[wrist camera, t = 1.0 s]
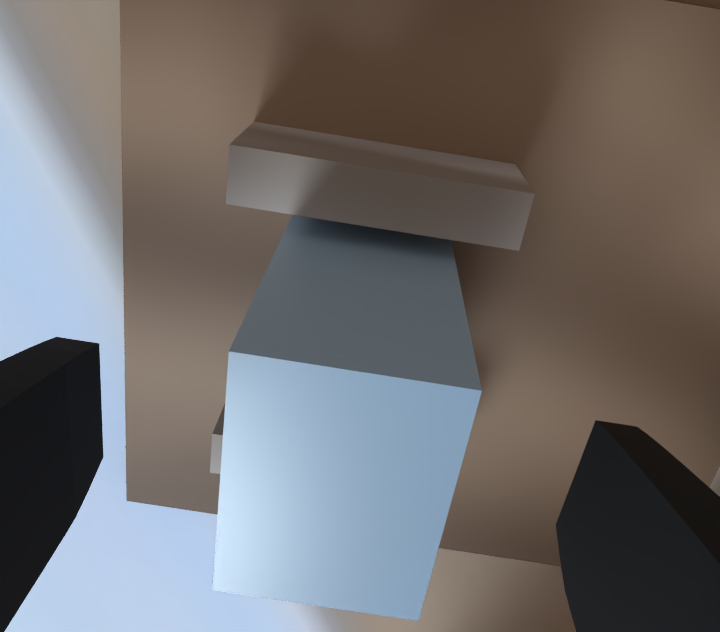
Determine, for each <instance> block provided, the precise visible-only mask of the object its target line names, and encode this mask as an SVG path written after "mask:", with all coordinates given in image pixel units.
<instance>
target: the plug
mask: <svg viewBox="0 0 720 632" xmlns="http://www.w3.org/2000/svg"><path fill="white" fill-rule="evenodd" d="M481 393H482V388H481V383H480V379H479V374H478V369H477V364H476V359H475V354H474V349H473V344H472V340H471V335H470V330H469V325H468V320H467V315H466V310H465V306H464V301H463V296H462V291H461V286H460V281H459V276H458V272H457V267H456V262H455V257H454V252H453V247H452V242H451V240H448V239H442V238H436V237H429V236H423V235H417V234H411V233H404V232H398V231H392V230H385V229H379V228H373V227H367V226H360V225H354V224H348V223H342V222H335V221H329V220H323V219H317V218H310V217H304V216H298V215H292V217H291V219H290V221H289V223H288V225H287V227H286V229H285V232H284V234H283V236H282V238H281V240H280V242H279V244H278V247H277V249H276V251H275V253H274V255H273V257H272V260H271V262H270V264H269V266H268V268H267V270H266V272H265V275H264V277H263V279H262V281H261V283H260V285H259V287H258V290H257V292H256V294H255V296H254V298H253V300H252V302H251V305H250V307H249V309H248V311H247V313H246V315H245V317H244V320H243V322H242V324H241V326H240V328H239V330H238V333H237V335H236V337H235V339H234V341H233V343H232V345H231V348H230V350H229V355H228V369H227V384H226V399H225V413H224V428H223V443H222V457H221V472H220V487H219V501H218V516H217V530H216V545H215V560H214V574H213V589H212V590H214V591H221V592H228V593H234V594H241V595H248V596H254V597H261V598H268V599H275V600H281V601H288V602H295V603H302V604H308V605H315V606H322V607H329V608H335V609H342V610H349V611H356V612H362V613H369V614H376V615H383V616H389V617H396V618H403V619H409V620H416V621H418V620H419V617H420V613H421V609H422V606H423V602H424V599H425V595H426V591H427V588H428V584H429V581H430V577H431V573H432V570H433V566H434V562H435V559H436V555H437V552H438V548H439V544H440V541H441V537H442V534H443V530H444V526H445V523H446V519H447V515H448V512H449V508H450V505H451V501H452V497H453V494H454V490H455V487H456V483H457V479H458V476H459V472H460V468H461V465H462V461H463V458H464V454H465V450H466V447H467V443H468V440H469V436H470V432H471V429H472V425H473V421H474V418H475V414H476V411H477V407H478V403H479V400H480V396H481Z"/></svg>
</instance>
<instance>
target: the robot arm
mask: <svg viewBox="0 0 720 632" xmlns="http://www.w3.org/2000/svg"><path fill="white" fill-rule="evenodd" d="M102 458H103V438H102V411H101V383H100V356H99V344H98V343H92V342H85V341H79V340H72V339H66V338H60V337H55V338H53V339H50V340H47V341H45V342H42V343H40V344H37V345H35V346H33V347H30V348H28V349H26V350H24V351H22V352H19V353H17V354H15V355H13V356H11V357H8V358H6V359H4V360H2V361H0V632H4V631H5V629H6V628H7V626H8V625H9V623H10V622H11V620H12V618H13V617H14V615H15V614H16V612H17V611H18V609H19V607H20V606H21V604H22V603H23V601H24V599H25V598H26V596H27V595H28V593H29V592H30V590H31V588H32V587H33V585H34V584H35V582H36V580H37V579H38V577H39V576H40V574H41V573H42V571H43V569H44V568H45V566H46V565H47V563H48V561H49V560H50V558H51V557H52V555H53V553H54V552H55V550H56V549H57V547H58V545H59V544H60V542H61V541H62V539H63V537H64V536H65V534H66V532H67V531H68V529H69V527H70V526H71V524H72V523H73V521H74V519H75V518H76V515H77V513H78V511H79V509H80V507H81V505H82V503H83V501H84V499H85V496H86V494H87V492H88V490H89V488H90V486H91V483H92V481H93V479H94V477H95V474H96V472H97V470H98V468H99V465H100V463H101V461H102ZM556 532H557V540H558V547H559V555H560V562H561V568H562V574H563V580H564V587H565V592H566V596H567V599H568V603H569V607H570V610H571V614H572V618H573V621H574V625H575V628H576V632H720V496H718V495H717V494H716V493H715V492H714V491H713V490H712V489H711V488H709V487H708V486H707V485H706V484H705V483H704V482H703V481H702V480H700V479H699V478H698V477H697V476H696V475H695V474H694V473H692V472H691V471H690V470H689V469H688V468H687V467H686V466H685V465H683V464H682V463H681V462H680V461H679V460H678V459H677V458H675V457H674V456H673V455H672V454H671V453H670V452H668V451H667V450H666V449H665V448H664V447H663V446H661V445H660V444H659V443H658V442H657V441H655V440H654V439H653V438H652V437H650V436H649V435H648V434H647V433H645V432H644V431H642V430H641V429H640V428H638V427H637V426H630V425H624V424H617V423H611V422H604V421H598V420H595V423H594V426H593V428H592V431H591V434H590V436H589V439H588V441H587V444H586V447H585V449H584V452H583V454H582V457H581V460H580V462H579V465H578V468H577V470H576V473H575V475H574V478H573V481H572V483H571V486H570V489H569V491H568V494H567V496H566V499H565V502H564V504H563V507H562V510H561V512H560V515H559V517H558V520H557V523H556Z"/></svg>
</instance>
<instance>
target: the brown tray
mask: <svg viewBox="0 0 720 632" xmlns="http://www.w3.org/2000/svg"><path fill="white" fill-rule="evenodd" d="M120 46H121V119H122V192H123V265H124V338H125V411H126V484H127V501H132V502H139V503H145V504H152V505H159V506H165V507H172V508H179V509H185V510H192V511H198V512H205V513H212V514H218V501H219V487H220V472H221V457H222V443H223V428H224V413H225V399H226V384H227V369H228V355H229V350H230V348H231V345H232V343H233V341H234V339H235V337H236V335H237V333H238V330H239V328H240V326H241V324H242V322H243V320H244V317H245V315H246V313H247V311H248V309H249V307H250V305H251V302H252V300H253V298H254V296H255V294H256V292H257V290H258V287H259V285H260V283H261V281H262V279H263V277H264V275H265V272H266V270H267V268H268V266H269V264H270V262H271V260H272V257H273V255H274V253H275V251H276V249H277V247H278V244H279V242H280V240H281V238H282V236H283V234H284V232H285V229H286V227H287V225H288V223H289V221H290V219H291V217H292V215H298V216H304V217H310V218H317V219H323V220H329V221H335V222H342V223H348V224H354V225H360V226H367V227H373V228H379V229H385V230H392V231H398V232H404V233H411V234H417V235H423V236H429V237H436V238H442V239H448V240H451V242H452V247H453V252H454V257H455V262H456V267H457V272H458V276H459V281H460V286H461V291H462V296H463V301H464V306H465V310H466V315H467V320H468V325H469V330H470V335H471V340H472V344H473V349H474V354H475V359H476V364H477V369H478V374H479V379H480V383H481V388H482V393H481V396H480V400H479V403H478V407H477V411H476V414H475V418H474V421H473V425H472V429H471V432H470V436H469V440H468V443H467V447H466V450H465V454H464V458H463V461H462V465H461V468H460V472H459V476H458V479H457V483H456V487H455V490H454V494H453V497H452V501H451V505H450V508H449V512H448V515H447V519H446V523H445V526H444V530H443V534H442V537H441V541H440V544H439V548H444V549H451V550H457V551H464V552H471V553H477V554H484V555H490V556H497V557H504V558H510V559H517V560H524V561H530V562H537V563H544V564H550V565H557V566H561V562H560V555H559V547H558V540H557V532H556V523H557V520H558V517H559V515H560V512H561V510H562V507H563V504H564V502H565V499H566V496H567V494H568V491H569V489H570V486H571V483H572V481H573V478H574V475H575V473H576V470H577V468H578V465H579V462H580V460H581V457H582V454H583V452H584V449H585V447H586V444H587V441H588V439H589V436H590V434H591V431H592V428H593V426H594V423H595V420H598V421H604V422H611V423H617V424H624V425H630V426H637V427H638V428H640V429H641V430H642V431H644V432H645V433H647V434H648V435H649V436H650V437H652V438H653V439H654V440H655V441H657V442H658V443H659V444H660V445H661V446H663V447H664V448H665V449H666V450H667V451H668V452H670V453H671V454H672V455H673V456H674V457H675V458H677V459H678V460H679V461H680V462H681V463H682V464H683V465H685V466H686V467H687V468H688V469H689V470H690V471H691V472H692V473H694V474H695V475H696V476H697V477H698V478H699V479H700V480H702V481H703V482H704V483H705V484H706V485H707V486H708V487H709V488H711V489H712V490H713V491H714V492H715V493H716V494H717V495H718V496H720V9H715V8H709V7H703V6H697V5H691V4H685V3H679V2H673V1H667V0H120Z"/></svg>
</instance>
